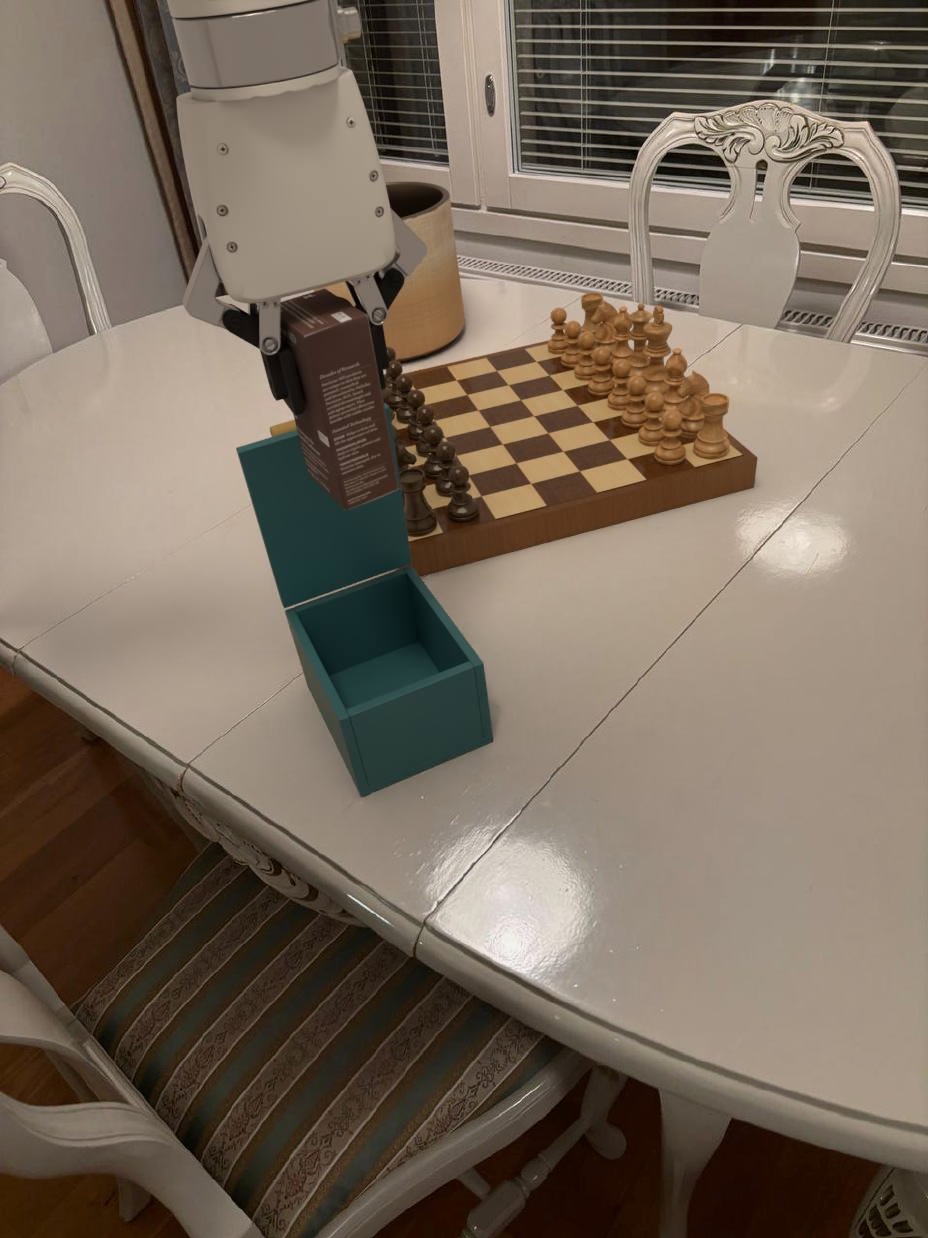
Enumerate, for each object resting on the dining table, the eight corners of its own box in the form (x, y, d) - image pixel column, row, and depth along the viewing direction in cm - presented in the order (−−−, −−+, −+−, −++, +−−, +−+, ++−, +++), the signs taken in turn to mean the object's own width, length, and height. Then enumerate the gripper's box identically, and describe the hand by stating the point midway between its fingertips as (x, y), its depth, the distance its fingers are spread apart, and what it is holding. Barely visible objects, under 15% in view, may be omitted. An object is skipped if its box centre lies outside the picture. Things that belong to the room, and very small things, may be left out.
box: (303, 478, 61) (263, 303, 53) (362, 457, 62) (331, 284, 54) (341, 516, 56) (302, 332, 49) (402, 492, 58) (375, 310, 50)
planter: (350, 312, 149) (325, 184, 136) (477, 308, 144) (464, 175, 131) (307, 369, 133) (274, 230, 120) (449, 367, 128) (431, 222, 115)
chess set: (604, 352, 126) (604, 245, 117) (754, 487, 96) (769, 358, 87) (332, 416, 120) (308, 308, 111) (400, 581, 90) (376, 453, 81)
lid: (389, 406, 66) (365, 377, 69) (238, 452, 63) (221, 420, 66) (412, 563, 76) (390, 531, 80) (284, 608, 73) (267, 574, 77)
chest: (493, 741, 72) (483, 662, 66) (361, 797, 69) (339, 720, 63) (424, 640, 83) (411, 564, 77) (307, 685, 80) (284, 610, 74)
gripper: (391, 18, 48) (433, 339, 60) (77, 74, 44) (189, 409, 56) (446, 27, 43) (481, 378, 55) (94, 92, 38) (214, 459, 50)
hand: (333, 391), depth 55 cm, fingers closed on box, 4 cm apart
